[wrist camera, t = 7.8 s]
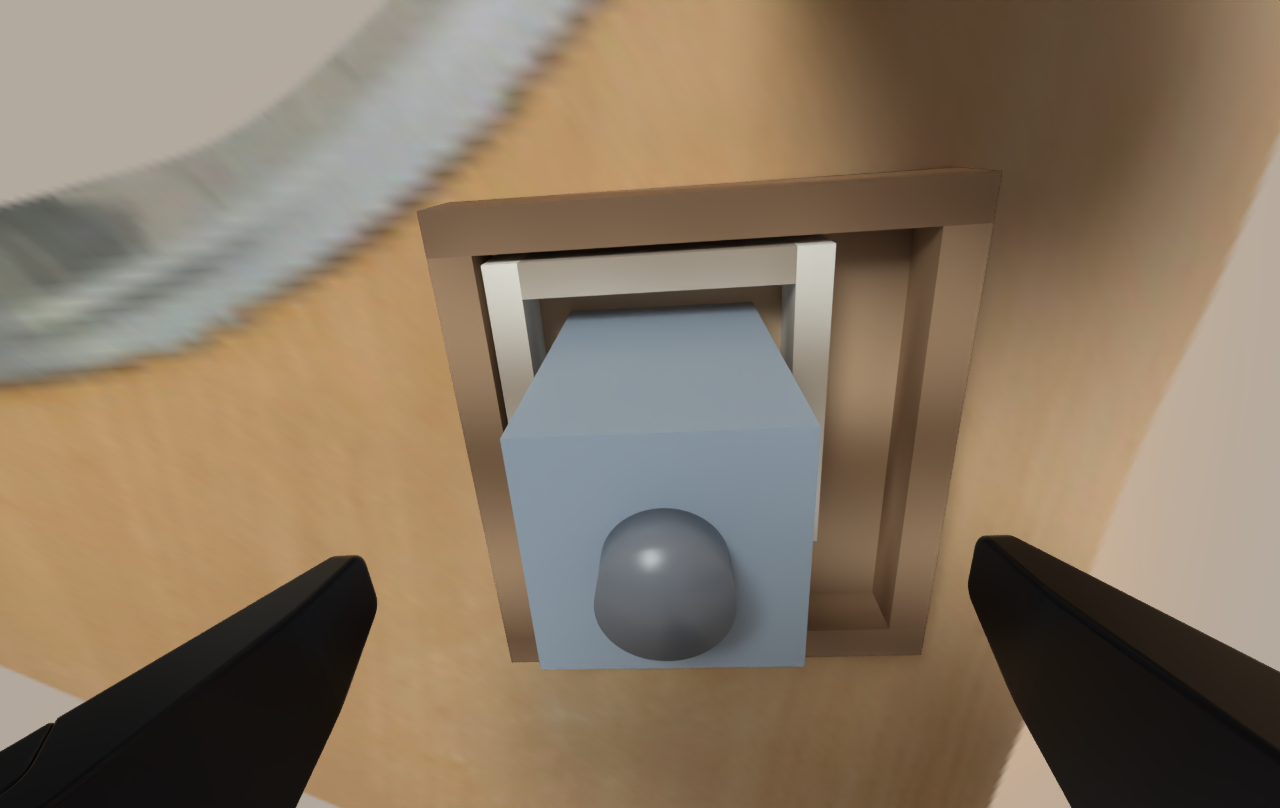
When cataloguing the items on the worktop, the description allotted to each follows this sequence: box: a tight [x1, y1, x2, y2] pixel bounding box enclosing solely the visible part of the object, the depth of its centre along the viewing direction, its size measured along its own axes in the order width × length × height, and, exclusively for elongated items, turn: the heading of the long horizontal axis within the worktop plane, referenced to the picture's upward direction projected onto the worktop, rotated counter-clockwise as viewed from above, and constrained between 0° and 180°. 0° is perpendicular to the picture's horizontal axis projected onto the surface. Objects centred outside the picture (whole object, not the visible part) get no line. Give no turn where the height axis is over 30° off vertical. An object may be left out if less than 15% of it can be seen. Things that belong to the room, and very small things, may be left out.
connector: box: [500, 302, 821, 670], centre depth 12 cm, size 4×4×8 cm
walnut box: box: [417, 167, 1002, 662], centre depth 16 cm, size 13×12×2 cm
